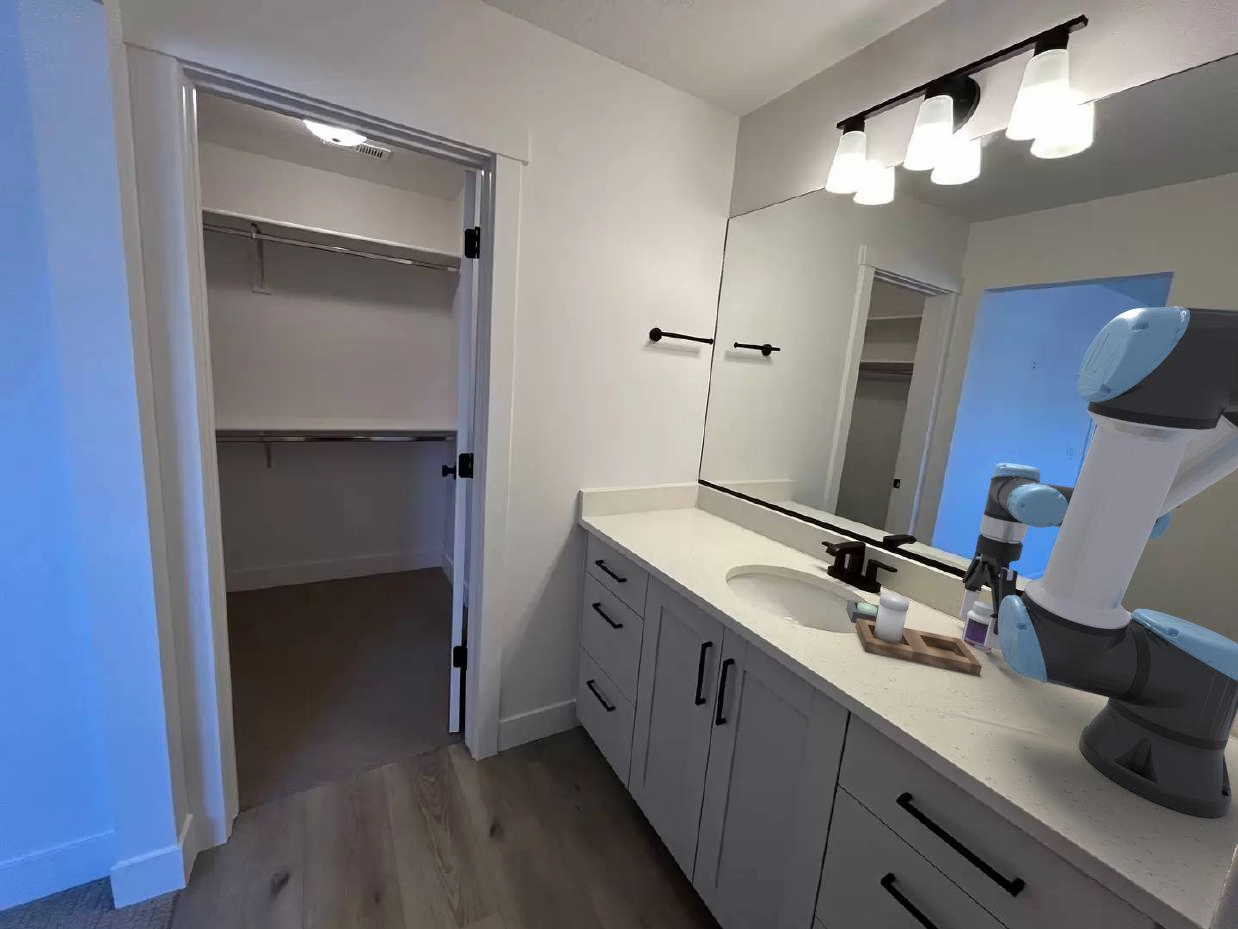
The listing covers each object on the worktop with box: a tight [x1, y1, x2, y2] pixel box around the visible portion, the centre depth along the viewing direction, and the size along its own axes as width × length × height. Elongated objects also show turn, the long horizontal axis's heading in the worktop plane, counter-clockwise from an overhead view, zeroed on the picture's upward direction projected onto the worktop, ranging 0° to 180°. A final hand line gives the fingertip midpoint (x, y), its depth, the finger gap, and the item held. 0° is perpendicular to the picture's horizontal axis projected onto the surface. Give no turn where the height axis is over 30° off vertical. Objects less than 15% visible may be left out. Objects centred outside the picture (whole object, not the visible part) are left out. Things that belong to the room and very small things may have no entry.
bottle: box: [873, 592, 910, 644], centre depth 103 cm, size 5×5×10 cm
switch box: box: [845, 599, 879, 624], centre depth 115 cm, size 7×7×4 cm
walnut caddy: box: [855, 618, 983, 676], centre depth 102 cm, size 20×11×3 cm, turn 74°
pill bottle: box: [961, 601, 994, 654], centre depth 108 cm, size 5×5×10 cm
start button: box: [857, 602, 877, 614], centre depth 115 cm, size 4×4×3 cm
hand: (978, 632), depth 108 cm, fingers open, 13 cm apart
